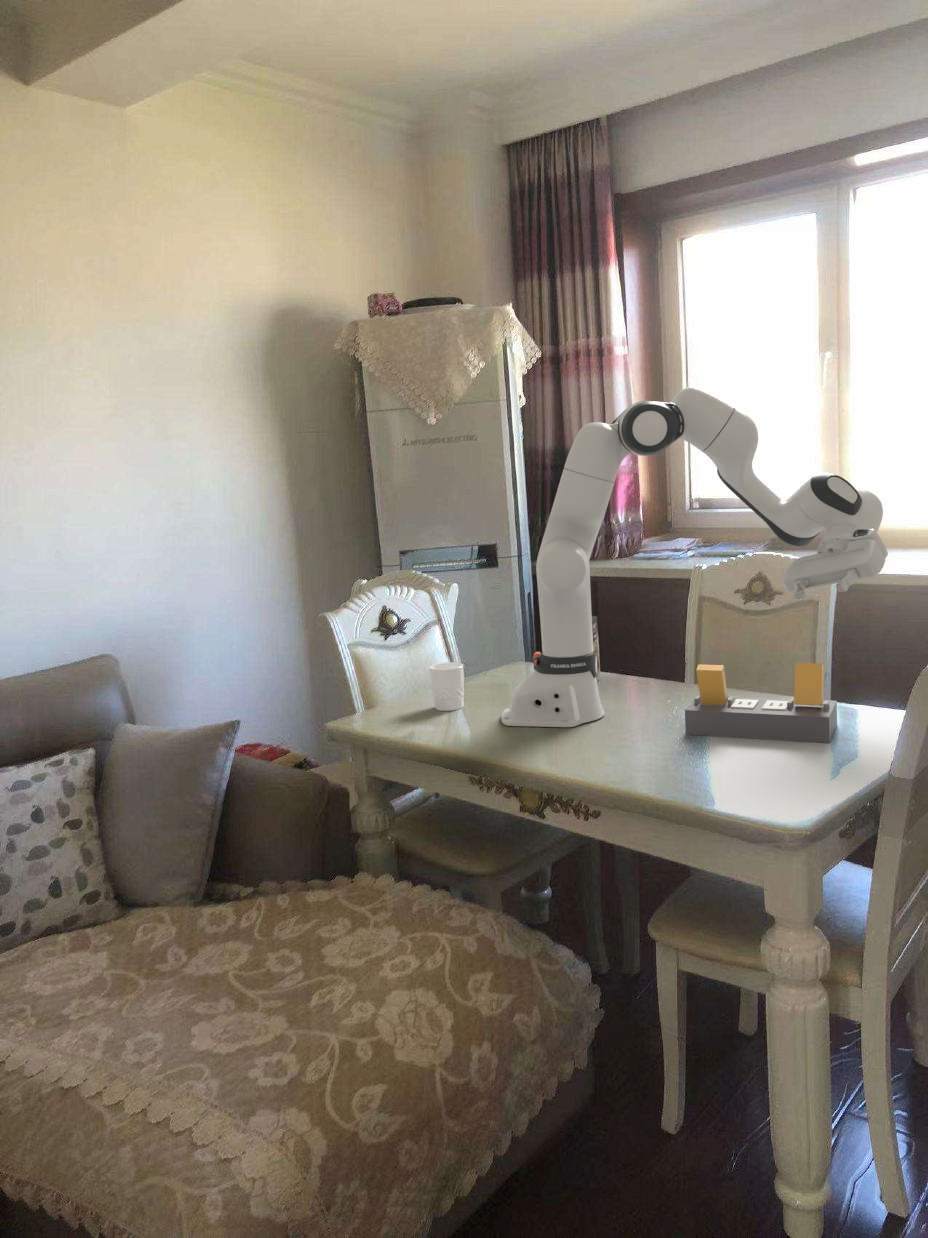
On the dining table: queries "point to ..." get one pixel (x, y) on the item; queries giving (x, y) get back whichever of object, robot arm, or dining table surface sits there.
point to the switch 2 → (808, 684)
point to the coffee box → (596, 644)
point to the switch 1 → (712, 684)
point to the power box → (762, 719)
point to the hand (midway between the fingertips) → (818, 593)
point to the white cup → (447, 685)
